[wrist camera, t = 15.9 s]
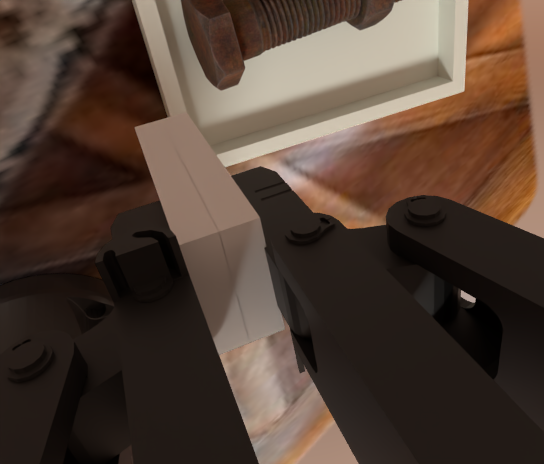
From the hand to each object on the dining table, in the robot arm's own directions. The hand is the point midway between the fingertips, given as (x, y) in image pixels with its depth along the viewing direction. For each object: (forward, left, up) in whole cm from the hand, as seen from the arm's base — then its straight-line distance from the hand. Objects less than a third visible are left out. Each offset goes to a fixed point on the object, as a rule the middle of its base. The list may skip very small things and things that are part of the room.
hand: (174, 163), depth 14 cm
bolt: (0, -12, -18) cm, 21 cm away
